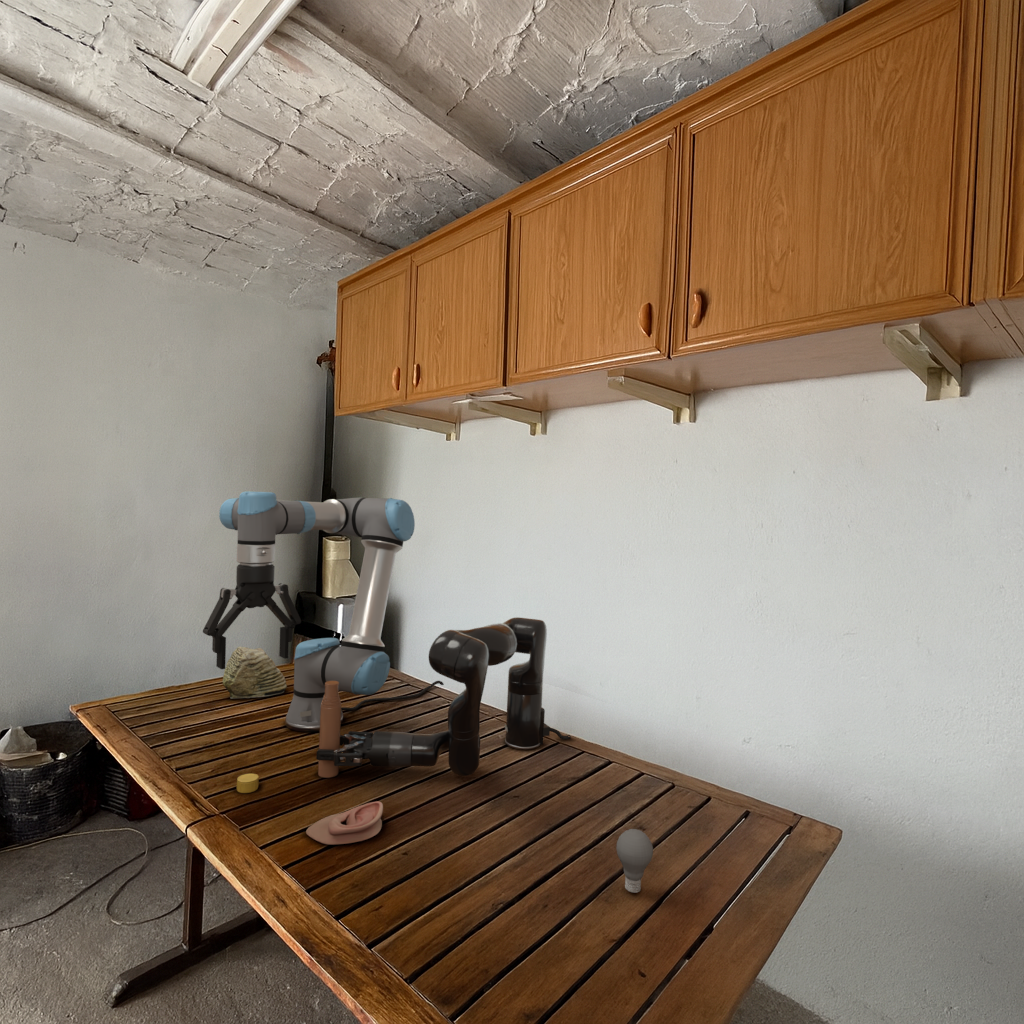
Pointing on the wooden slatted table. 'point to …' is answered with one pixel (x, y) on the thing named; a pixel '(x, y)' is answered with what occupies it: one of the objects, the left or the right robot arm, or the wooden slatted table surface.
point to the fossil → (252, 674)
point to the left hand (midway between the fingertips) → (253, 662)
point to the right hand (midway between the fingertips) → (322, 747)
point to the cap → (247, 783)
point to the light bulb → (634, 857)
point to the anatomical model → (348, 825)
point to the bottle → (329, 727)
